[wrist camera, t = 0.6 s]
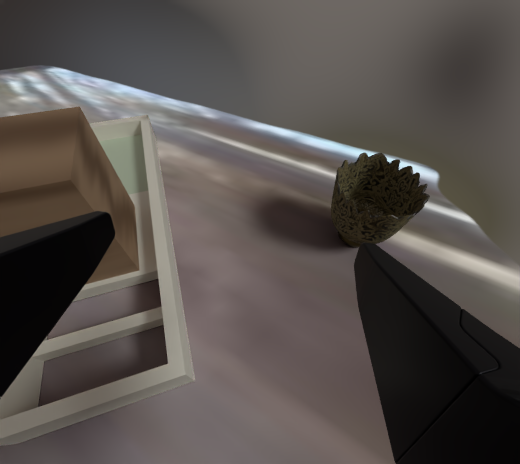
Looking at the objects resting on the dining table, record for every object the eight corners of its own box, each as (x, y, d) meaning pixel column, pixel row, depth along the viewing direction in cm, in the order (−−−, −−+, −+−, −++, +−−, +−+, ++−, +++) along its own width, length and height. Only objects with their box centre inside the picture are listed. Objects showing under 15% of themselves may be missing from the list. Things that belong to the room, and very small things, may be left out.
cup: (346, 277, 25) (377, 228, 19) (305, 223, 29) (320, 166, 23) (403, 249, 27) (450, 195, 21) (358, 201, 31) (385, 144, 25)
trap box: (195, 380, 20) (185, 374, 17) (17, 443, 18) (-28, 448, 15) (155, 137, 38) (147, 114, 35) (63, 153, 35) (47, 129, 32)
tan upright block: (139, 270, 24) (70, 179, 15) (66, 289, 23) (-57, 203, 14) (135, 206, 28) (79, 106, 19) (73, 219, 27) (-16, 119, 18)
